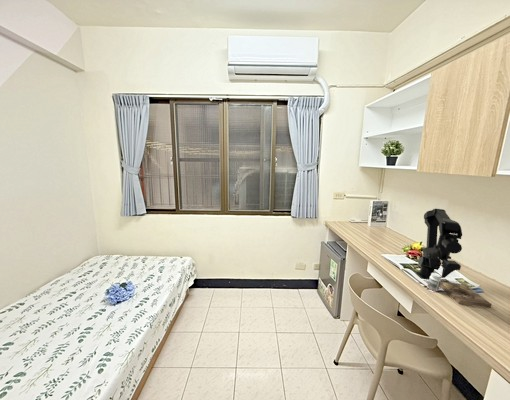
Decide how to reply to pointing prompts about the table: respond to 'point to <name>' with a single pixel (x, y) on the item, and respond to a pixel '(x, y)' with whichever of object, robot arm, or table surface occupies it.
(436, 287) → the pill bottle
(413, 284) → the table surface
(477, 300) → the pin board
